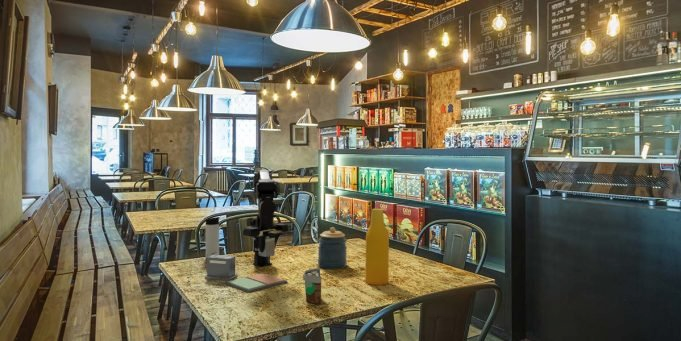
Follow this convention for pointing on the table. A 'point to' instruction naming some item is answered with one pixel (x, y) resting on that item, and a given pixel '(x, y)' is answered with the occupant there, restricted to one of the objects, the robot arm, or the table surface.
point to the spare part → (268, 247)
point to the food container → (313, 286)
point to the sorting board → (255, 282)
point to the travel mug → (212, 236)
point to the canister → (332, 250)
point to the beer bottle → (377, 250)
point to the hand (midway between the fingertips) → (266, 251)
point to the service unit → (221, 267)
